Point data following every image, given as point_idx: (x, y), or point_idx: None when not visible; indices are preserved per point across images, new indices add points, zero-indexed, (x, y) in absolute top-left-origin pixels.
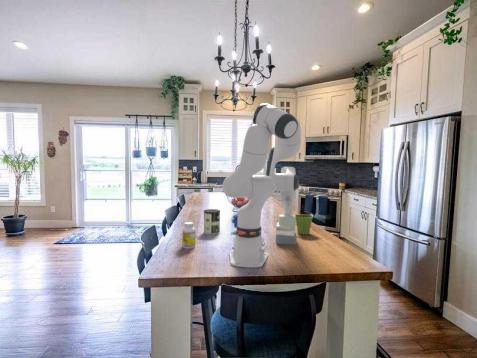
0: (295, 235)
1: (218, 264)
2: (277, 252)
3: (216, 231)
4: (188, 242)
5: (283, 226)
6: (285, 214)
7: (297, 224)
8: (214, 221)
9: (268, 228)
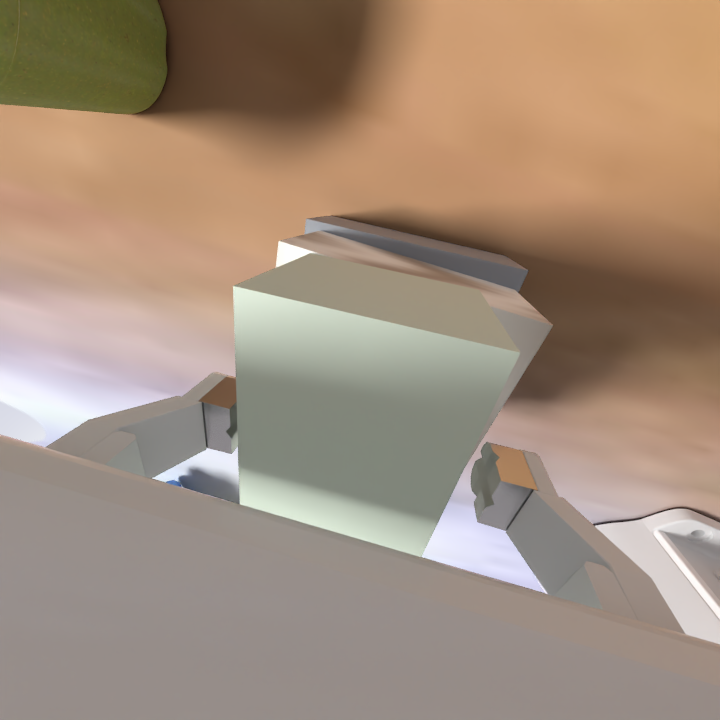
0: (492, 270)
1: None
2: (640, 443)
3: None
4: None
5: (475, 449)
6: (200, 442)
7: (49, 100)
8: None
9: (79, 346)
